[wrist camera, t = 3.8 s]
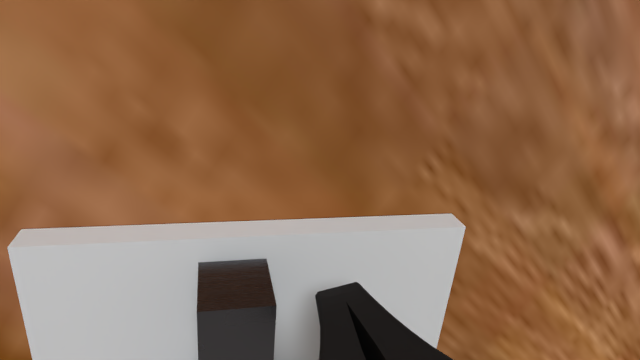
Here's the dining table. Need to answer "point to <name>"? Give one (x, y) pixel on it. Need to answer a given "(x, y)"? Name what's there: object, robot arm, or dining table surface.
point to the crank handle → (235, 310)
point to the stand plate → (222, 245)
